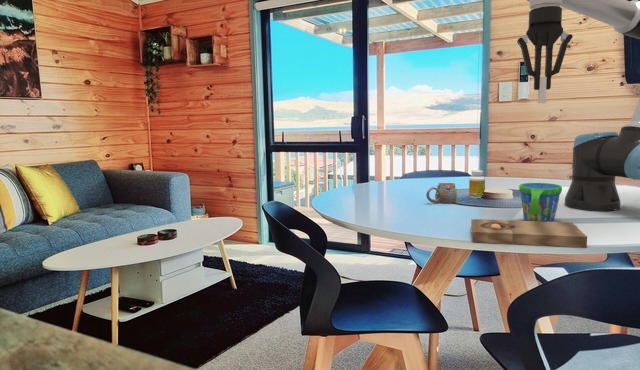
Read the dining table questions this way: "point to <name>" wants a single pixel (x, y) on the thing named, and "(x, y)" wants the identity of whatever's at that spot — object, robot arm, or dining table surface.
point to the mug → (444, 193)
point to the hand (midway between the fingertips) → (541, 102)
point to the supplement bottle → (476, 184)
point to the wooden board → (528, 233)
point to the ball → (495, 226)
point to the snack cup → (539, 201)
